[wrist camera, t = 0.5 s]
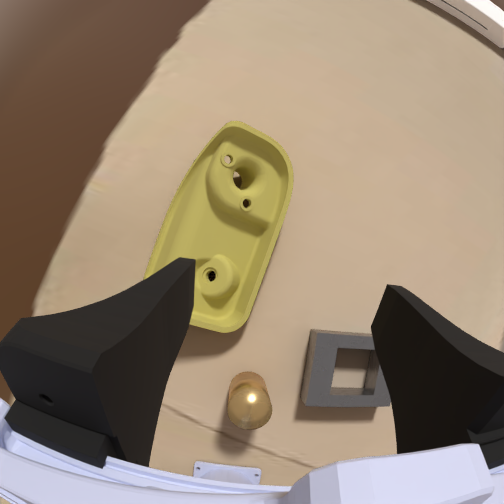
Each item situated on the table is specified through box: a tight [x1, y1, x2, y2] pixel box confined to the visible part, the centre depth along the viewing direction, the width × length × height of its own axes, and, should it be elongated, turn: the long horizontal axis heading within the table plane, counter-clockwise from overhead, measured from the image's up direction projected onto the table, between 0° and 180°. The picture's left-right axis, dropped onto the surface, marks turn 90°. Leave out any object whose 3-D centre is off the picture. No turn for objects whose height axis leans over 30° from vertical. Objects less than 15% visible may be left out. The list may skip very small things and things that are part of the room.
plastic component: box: [143, 121, 293, 333], centre depth 33 cm, size 20×7×10 cm
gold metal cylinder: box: [228, 372, 272, 430], centre depth 30 cm, size 4×4×7 cm
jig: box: [300, 329, 391, 407], centre depth 32 cm, size 8×10×3 cm
